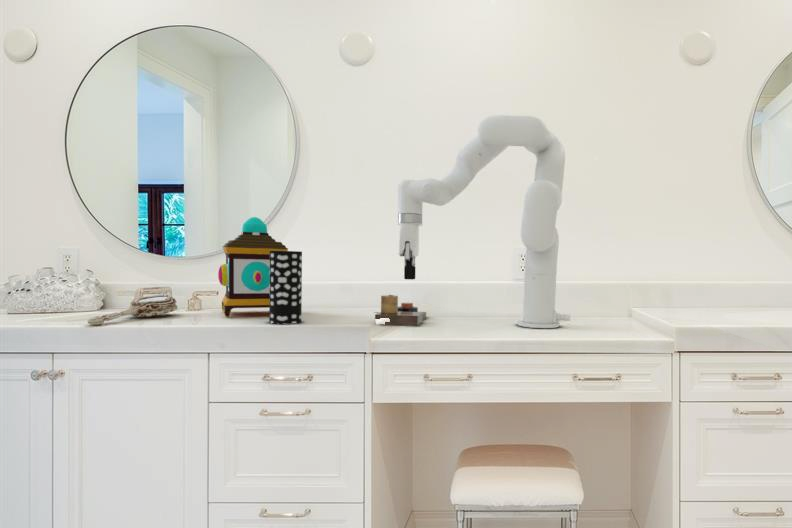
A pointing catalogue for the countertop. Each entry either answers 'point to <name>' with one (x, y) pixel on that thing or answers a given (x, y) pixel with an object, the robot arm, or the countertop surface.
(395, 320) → the panel
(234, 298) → the decorative lantern
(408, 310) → the button block
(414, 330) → the countertop surface
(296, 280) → the white-spotted black cylinder
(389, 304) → the knob
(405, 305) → the button
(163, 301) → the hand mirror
